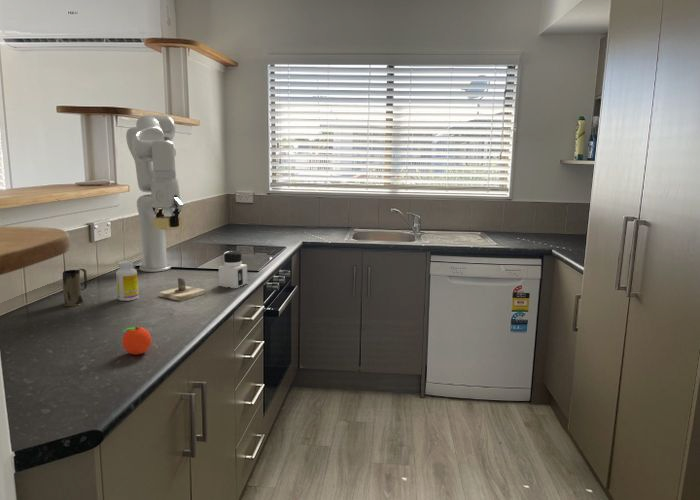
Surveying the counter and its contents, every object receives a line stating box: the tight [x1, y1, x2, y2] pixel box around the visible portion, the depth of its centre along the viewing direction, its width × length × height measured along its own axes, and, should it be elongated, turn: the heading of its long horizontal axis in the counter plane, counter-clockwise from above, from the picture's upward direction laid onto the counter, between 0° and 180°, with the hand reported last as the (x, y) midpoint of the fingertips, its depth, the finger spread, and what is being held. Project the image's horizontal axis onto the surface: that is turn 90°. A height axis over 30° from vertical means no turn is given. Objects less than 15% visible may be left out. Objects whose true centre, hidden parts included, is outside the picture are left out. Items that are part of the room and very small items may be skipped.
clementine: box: [118, 326, 152, 355], centre depth 136 cm, size 8×7×7 cm
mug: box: [62, 268, 88, 307], centre depth 176 cm, size 8×6×12 cm
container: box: [218, 250, 248, 289], centre depth 201 cm, size 8×8×13 cm
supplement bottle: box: [115, 260, 140, 302], centre depth 183 cm, size 7×7×13 cm
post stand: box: [158, 277, 206, 302], centre depth 188 cm, size 11×11×6 cm
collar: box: [153, 216, 182, 231], centre depth 192 cm, size 7×7×4 cm
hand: (167, 225), depth 192 cm, fingers closed on collar, 6 cm apart
